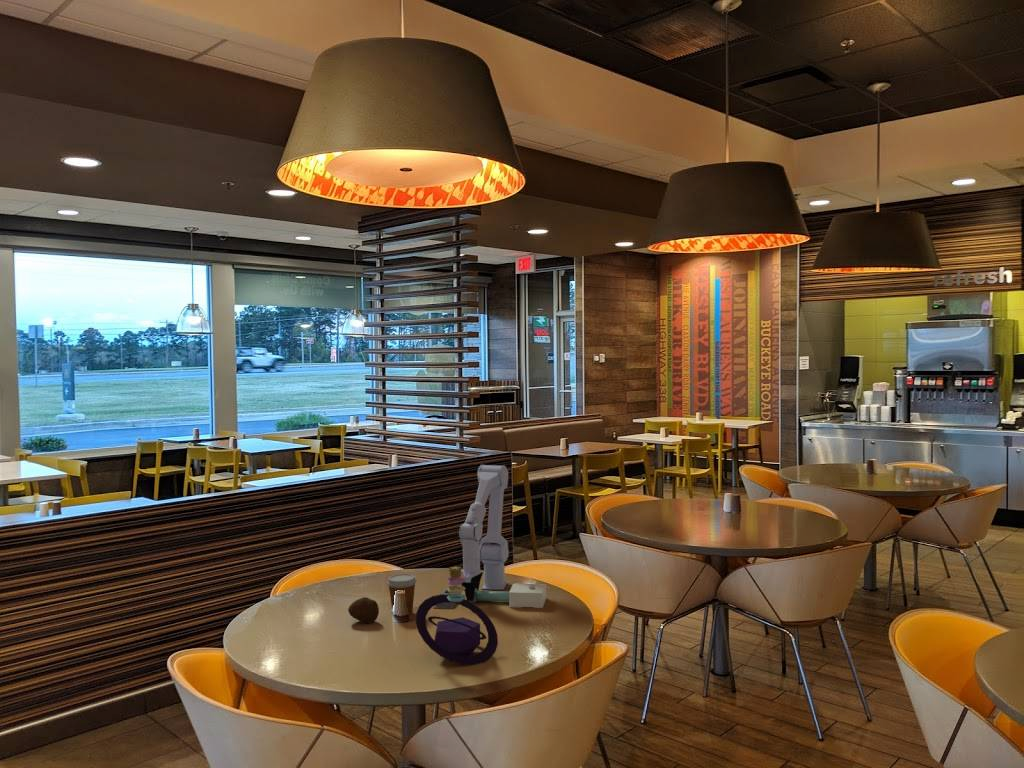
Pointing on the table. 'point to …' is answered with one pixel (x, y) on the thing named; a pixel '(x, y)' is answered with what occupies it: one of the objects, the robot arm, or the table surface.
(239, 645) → the table surface
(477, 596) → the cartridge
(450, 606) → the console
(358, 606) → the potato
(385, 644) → the table surface
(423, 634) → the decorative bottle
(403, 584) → the disposable coffee cup
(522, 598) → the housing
